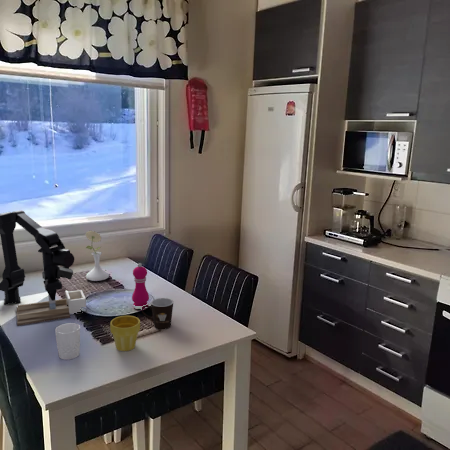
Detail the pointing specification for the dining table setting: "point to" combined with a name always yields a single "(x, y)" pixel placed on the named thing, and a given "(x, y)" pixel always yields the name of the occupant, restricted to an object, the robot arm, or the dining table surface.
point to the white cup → (68, 340)
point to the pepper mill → (140, 286)
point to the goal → (75, 300)
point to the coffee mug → (161, 312)
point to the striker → (52, 303)
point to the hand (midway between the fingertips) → (53, 299)
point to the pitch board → (41, 312)
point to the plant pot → (125, 332)
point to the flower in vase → (96, 259)
